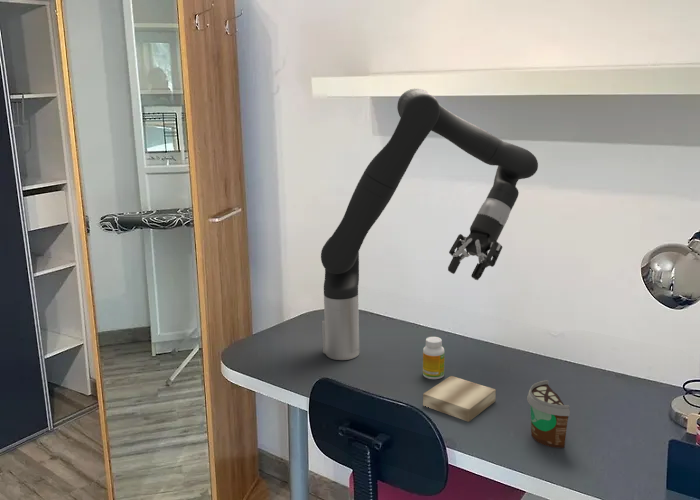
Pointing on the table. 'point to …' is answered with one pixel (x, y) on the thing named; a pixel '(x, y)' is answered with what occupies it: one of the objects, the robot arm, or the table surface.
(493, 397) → the base block
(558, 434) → the food container
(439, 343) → the supplement bottle
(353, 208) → the robot arm
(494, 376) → the table surface
